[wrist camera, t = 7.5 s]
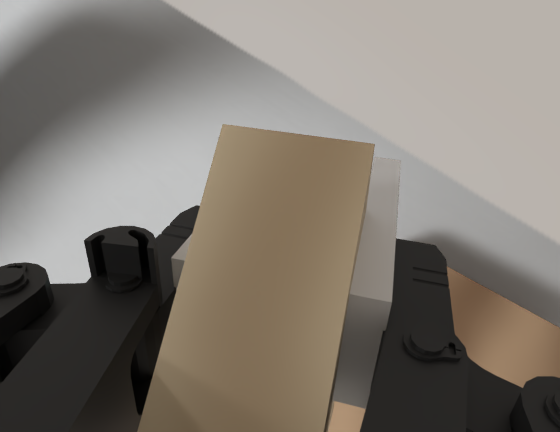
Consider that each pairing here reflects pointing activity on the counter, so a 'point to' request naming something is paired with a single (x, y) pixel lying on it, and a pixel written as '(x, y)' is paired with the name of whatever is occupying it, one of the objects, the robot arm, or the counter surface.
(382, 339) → the robot arm
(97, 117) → the counter surface
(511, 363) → the walnut block
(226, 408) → the birch block
